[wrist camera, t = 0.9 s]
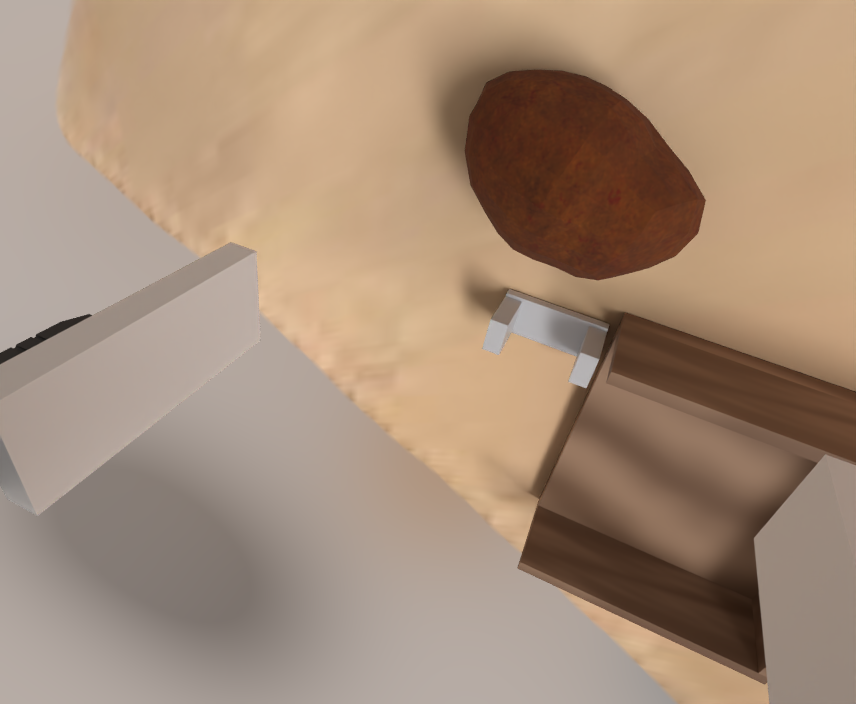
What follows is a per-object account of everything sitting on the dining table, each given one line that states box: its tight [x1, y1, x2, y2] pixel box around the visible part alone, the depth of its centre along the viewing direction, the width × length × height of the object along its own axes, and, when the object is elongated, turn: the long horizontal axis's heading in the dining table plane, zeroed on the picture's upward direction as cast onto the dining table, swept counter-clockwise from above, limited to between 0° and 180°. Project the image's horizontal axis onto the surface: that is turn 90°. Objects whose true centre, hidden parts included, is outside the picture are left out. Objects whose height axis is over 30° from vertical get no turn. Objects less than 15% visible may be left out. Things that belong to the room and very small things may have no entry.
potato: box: [465, 70, 706, 280], centre depth 24 cm, size 8×12×8 cm, turn 62°
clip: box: [482, 289, 609, 388], centre depth 31 cm, size 2×6×4 cm, turn 80°
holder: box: [518, 312, 856, 684], centre depth 31 cm, size 16×15×6 cm
